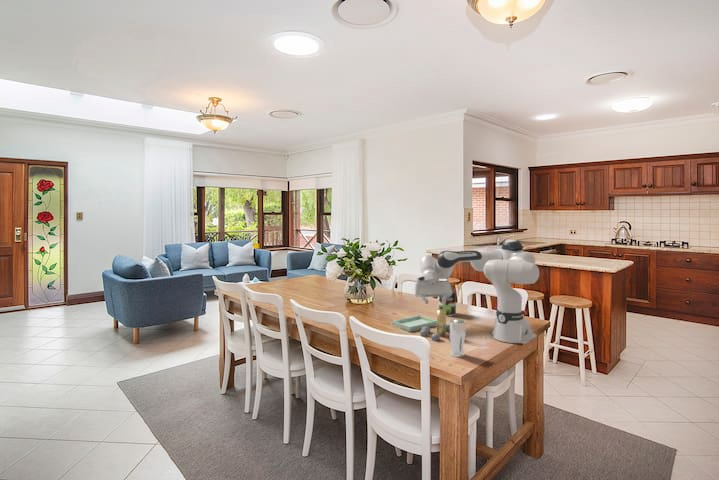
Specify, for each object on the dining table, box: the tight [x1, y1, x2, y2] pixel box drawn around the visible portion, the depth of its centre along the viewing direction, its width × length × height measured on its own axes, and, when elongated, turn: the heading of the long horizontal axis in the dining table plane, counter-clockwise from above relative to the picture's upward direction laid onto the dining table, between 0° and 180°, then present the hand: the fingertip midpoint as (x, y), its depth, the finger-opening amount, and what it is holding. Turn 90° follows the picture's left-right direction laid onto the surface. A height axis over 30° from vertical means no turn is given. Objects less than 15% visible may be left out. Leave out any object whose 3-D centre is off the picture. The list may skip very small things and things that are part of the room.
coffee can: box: [438, 289, 457, 317], centre depth 232 cm, size 10×10×14 cm
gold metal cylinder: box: [436, 308, 447, 338], centre depth 193 cm, size 4×4×13 cm
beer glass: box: [448, 318, 467, 358], centre depth 167 cm, size 7×7×15 cm
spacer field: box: [419, 324, 451, 343], centre depth 193 cm, size 19×21×2 cm
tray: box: [392, 314, 437, 333], centre depth 210 cm, size 20×14×3 cm
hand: (435, 303), depth 201 cm, fingers open, 8 cm apart
